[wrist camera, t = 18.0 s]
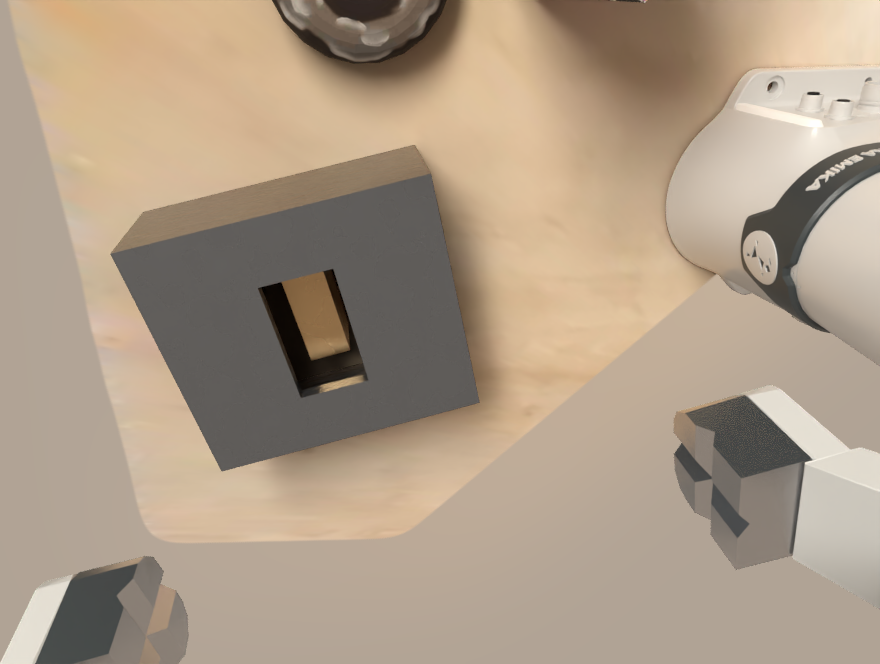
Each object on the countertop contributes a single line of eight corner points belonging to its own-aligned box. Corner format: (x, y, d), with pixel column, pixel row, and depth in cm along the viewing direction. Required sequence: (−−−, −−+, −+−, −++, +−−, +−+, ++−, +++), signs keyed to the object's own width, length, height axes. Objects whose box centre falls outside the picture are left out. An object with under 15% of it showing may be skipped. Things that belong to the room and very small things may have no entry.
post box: (414, 144, 46) (430, 173, 39) (459, 349, 55) (479, 402, 48) (143, 212, 45) (110, 253, 38) (234, 409, 54) (221, 471, 47)
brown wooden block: (322, 242, 48) (321, 267, 44) (347, 319, 52) (350, 350, 47) (284, 252, 48) (280, 278, 44) (312, 329, 52) (311, 360, 47)
